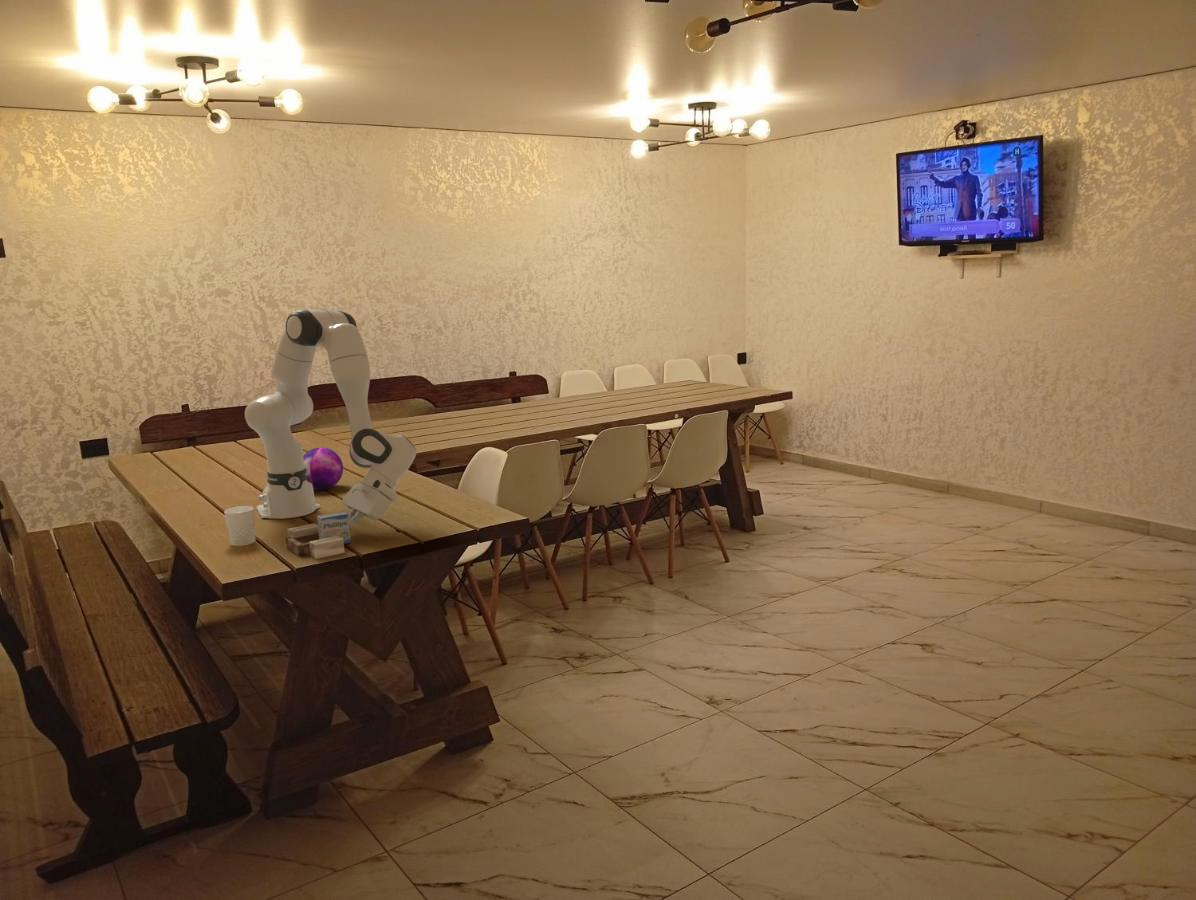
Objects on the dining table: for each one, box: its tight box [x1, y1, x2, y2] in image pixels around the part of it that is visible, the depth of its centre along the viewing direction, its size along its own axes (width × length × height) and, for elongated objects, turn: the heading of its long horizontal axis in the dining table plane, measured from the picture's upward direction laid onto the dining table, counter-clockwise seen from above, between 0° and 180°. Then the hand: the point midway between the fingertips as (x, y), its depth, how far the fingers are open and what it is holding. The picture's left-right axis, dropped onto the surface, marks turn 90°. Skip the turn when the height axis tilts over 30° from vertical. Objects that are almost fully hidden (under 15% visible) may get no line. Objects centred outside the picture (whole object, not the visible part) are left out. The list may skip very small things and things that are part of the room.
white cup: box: [224, 505, 256, 547], centre depth 259 cm, size 8×8×10 cm
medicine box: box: [316, 511, 352, 545], centre depth 255 cm, size 8×4×9 cm, turn 120°
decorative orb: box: [303, 447, 344, 491], centre depth 320 cm, size 15×15×15 cm
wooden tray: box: [285, 522, 345, 560], centre depth 252 cm, size 21×12×4 cm, turn 38°
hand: (348, 525), depth 258 cm, fingers closed
